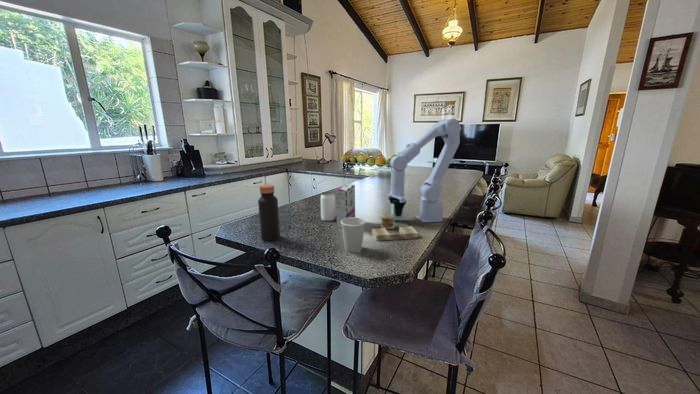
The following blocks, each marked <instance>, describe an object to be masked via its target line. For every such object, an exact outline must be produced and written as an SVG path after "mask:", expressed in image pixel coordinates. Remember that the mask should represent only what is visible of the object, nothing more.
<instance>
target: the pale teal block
mask: <svg viewBox="0 0 700 394" xmlns="http://www.w3.org/2000/svg"><path fill="white" fill-rule="evenodd" d="M403 210H404V209H403ZM403 210H402V214H401V216H396V214H395V207H394V204H391V203H390V214H393V215H395V219H394V220H402V219H403V215H404V214H403Z"/></svg>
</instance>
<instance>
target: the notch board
mask: <svg viewBox="0 0 700 394" xmlns="http://www.w3.org/2000/svg"><path fill="white" fill-rule="evenodd" d="M398 229H399V230H398V232H399V233H398V232H397V233H395V232H394V233H389V232H388V230H386V229H385V228H378V227H377V228H371V234H372V236H373V238H374V239H375V240H376V241H390V240H391V241H393V240H405V239H406V240H408V239H409V240H410V239H418V238H419V232H418V231H417V230H416V229H415V228H413V226H400V227H398Z"/></svg>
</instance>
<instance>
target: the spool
mask: <svg viewBox="0 0 700 394" xmlns="http://www.w3.org/2000/svg"><path fill="white" fill-rule="evenodd" d="M379 216H380V217H379V218H380V219H381V224H380V225H379V227H380V228H385V229H386V231H389V230H394V229H395V228H396V225H395V224H394V220H396V219H395V215H393V214H391V213H381V214H380V215H379Z"/></svg>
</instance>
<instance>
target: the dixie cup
mask: <svg viewBox="0 0 700 394" xmlns="http://www.w3.org/2000/svg"><path fill="white" fill-rule="evenodd" d="M366 223H367V221H366V220H365V219H363V218H362V217H356V216H355V217H350V218H345V219H343V220H341V224H342V228H341V230H342V231H341V232H342V236H343V244H344V250H345V252H347V253H348V252H349V253H358V252H360V251H361V252H362V248H363V247H362V246H363V241H364V240H363V239H364V233H365V226H366Z"/></svg>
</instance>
